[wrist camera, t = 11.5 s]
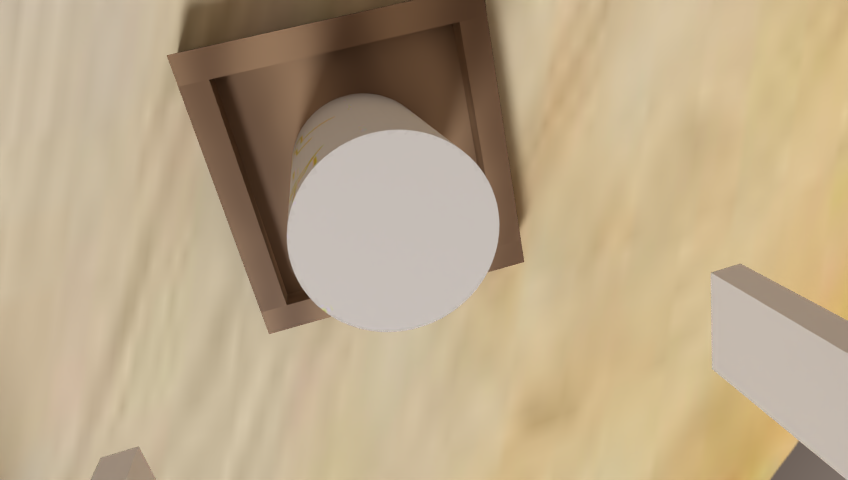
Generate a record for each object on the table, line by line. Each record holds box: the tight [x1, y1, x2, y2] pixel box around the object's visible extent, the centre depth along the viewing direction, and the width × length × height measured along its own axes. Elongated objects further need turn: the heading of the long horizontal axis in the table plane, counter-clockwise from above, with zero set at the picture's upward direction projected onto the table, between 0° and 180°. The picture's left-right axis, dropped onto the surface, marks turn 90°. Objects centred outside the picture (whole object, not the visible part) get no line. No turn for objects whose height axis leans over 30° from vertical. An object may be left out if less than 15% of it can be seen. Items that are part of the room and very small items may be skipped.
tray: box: [167, 0, 524, 334], centre depth 32 cm, size 16×16×2 cm
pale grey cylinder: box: [287, 93, 499, 332], centre depth 27 cm, size 8×8×12 cm
